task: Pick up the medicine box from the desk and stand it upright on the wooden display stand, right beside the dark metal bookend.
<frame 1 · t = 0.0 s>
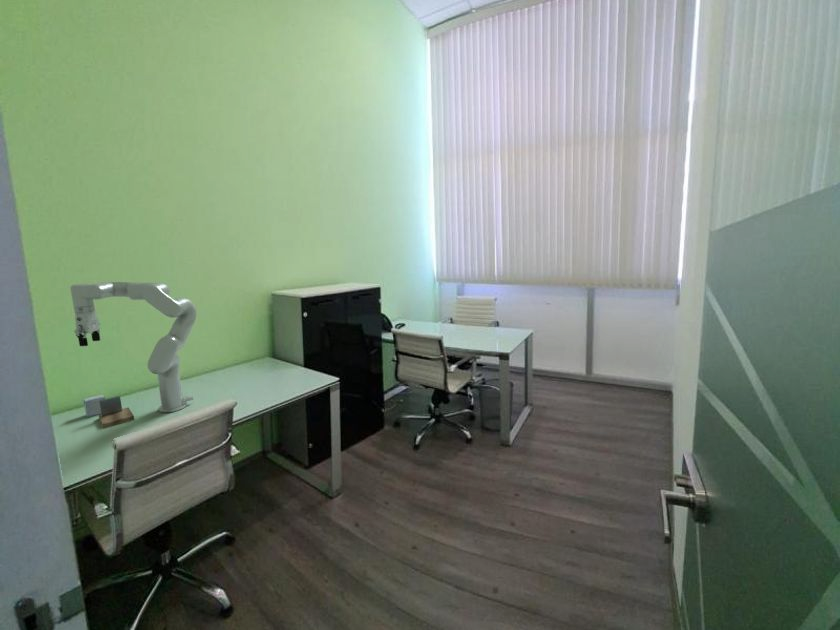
hand: (90, 343, 186), 37 cm above the table, tool pointing down, fingers open, 9 cm apart
wooden display stand: (116, 419, 187), on the table
medicine box: (96, 414, 193), on the table
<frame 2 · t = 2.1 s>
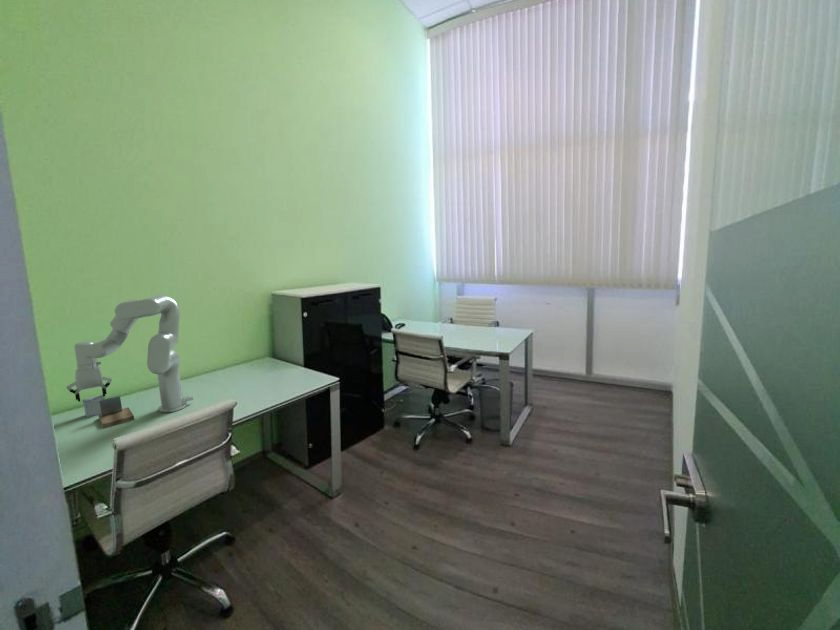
hand: (91, 398, 191), 8 cm above the table, tool pointing down, fingers open, 9 cm apart
medicine box: (96, 414, 193), on the table, touching gripper
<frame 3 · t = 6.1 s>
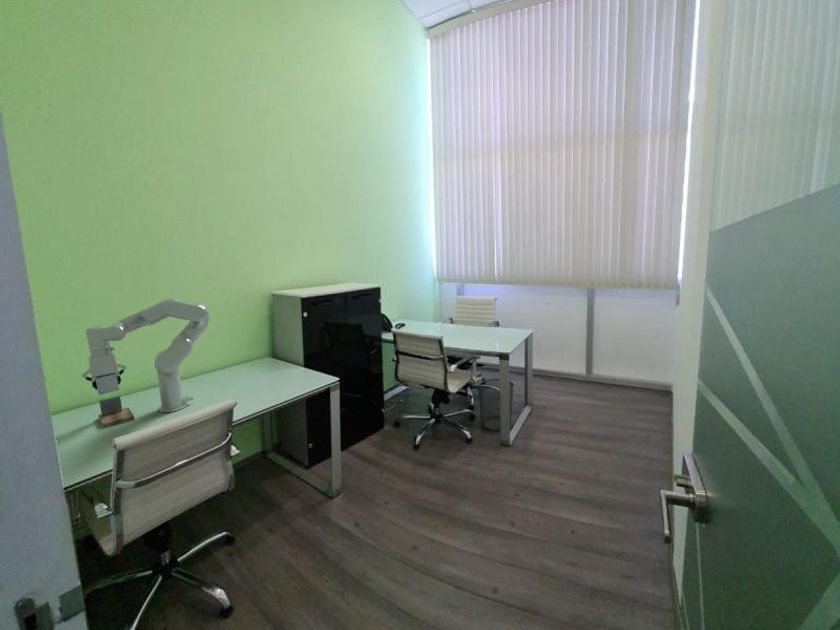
hand: (107, 386, 183), 17 cm above the table, tool pointing down, fingers closed on medicine box, 8 cm apart
medicine box: (108, 392, 184), point 14 cm above the table, touching gripper
when the fingers open (6 cm above the table, at t = 9.3 s): medicine box drops 1 cm, resting on wooden display stand.
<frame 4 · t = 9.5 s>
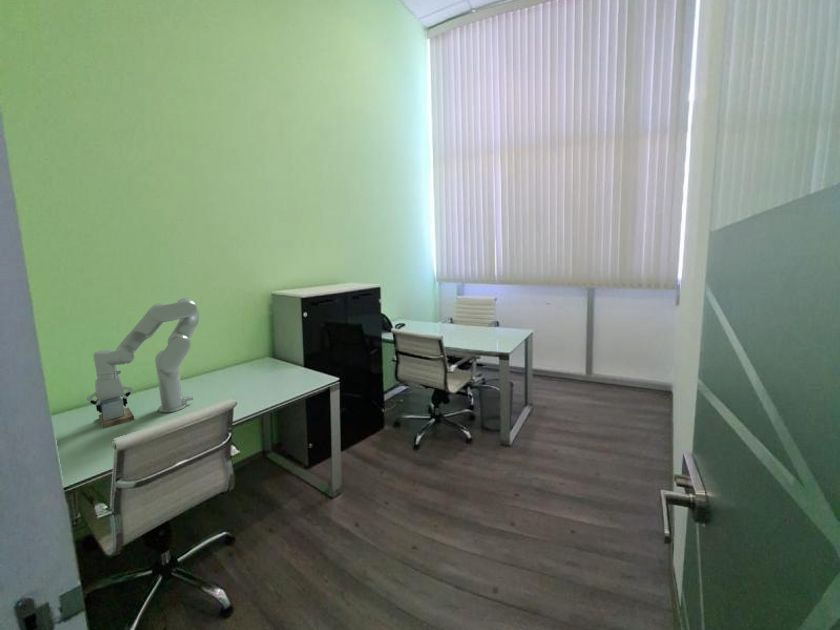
hand: (112, 408, 184), 6 cm above the table, tool pointing down, fingers open, 9 cm apart
medicine box: (114, 417, 185), point 2 cm above the table, touching wooden display stand
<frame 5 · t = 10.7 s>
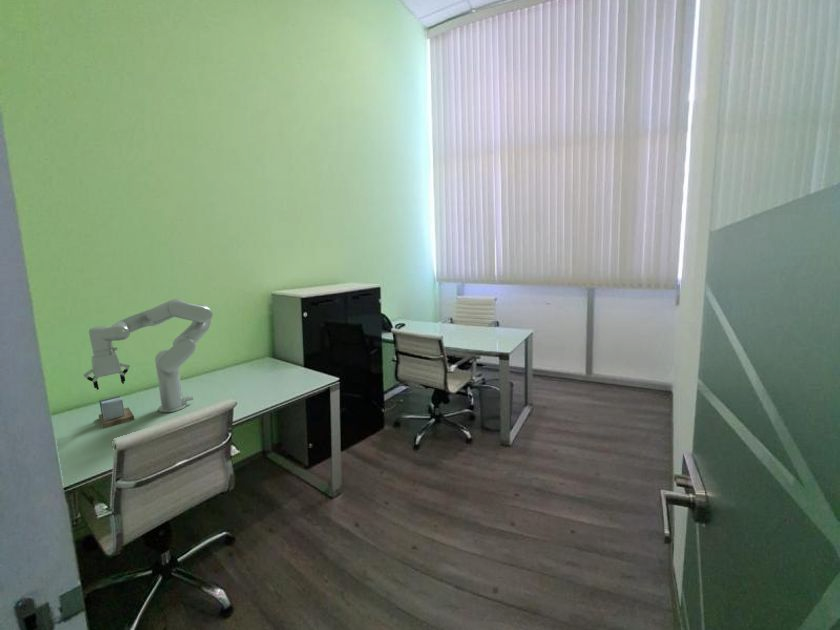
hand: (110, 385, 182), 18 cm above the table, tool pointing down, fingers open, 9 cm apart
nothing on the table moved.
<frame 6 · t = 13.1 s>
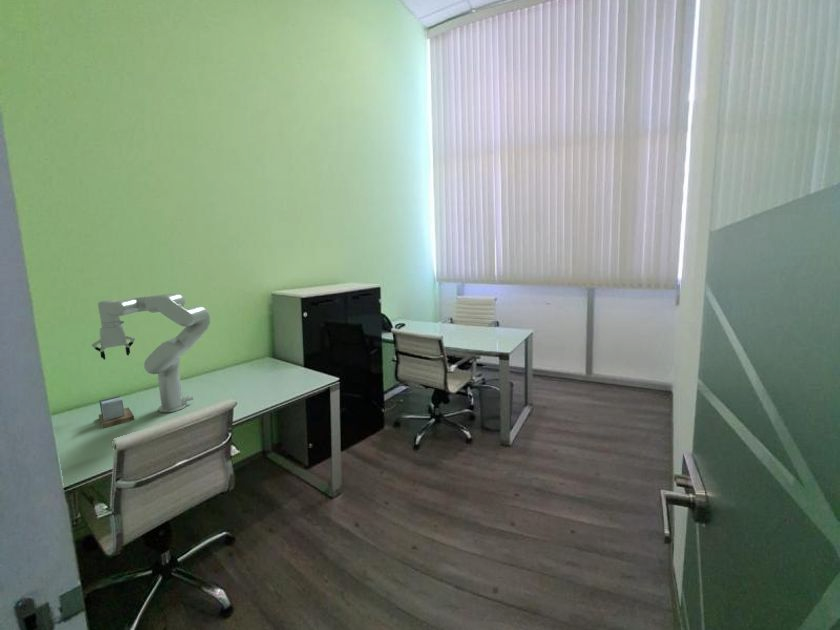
hand: (116, 356, 194), 28 cm above the table, tool pointing down, fingers open, 9 cm apart
nothing on the table moved.
at the end: medicine box 0.1 cm from the target spot, point 1.8 cm above the table; medicine box tilted 0°; the gripper is holding nothing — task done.
